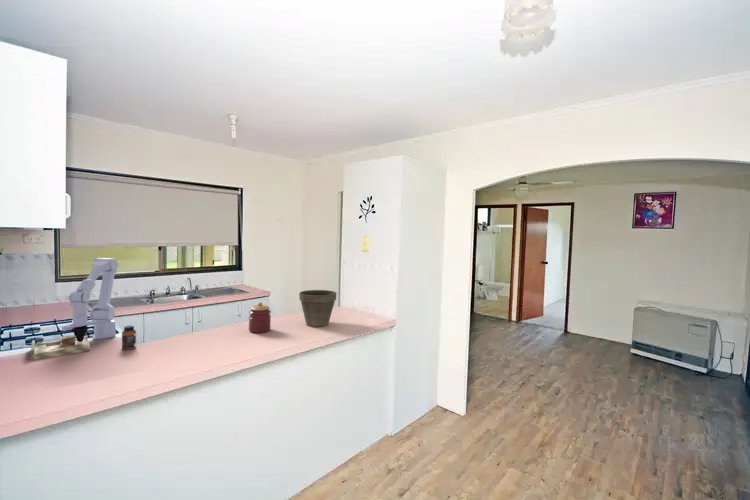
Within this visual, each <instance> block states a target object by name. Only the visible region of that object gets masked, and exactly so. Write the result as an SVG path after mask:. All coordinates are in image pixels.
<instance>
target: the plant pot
mask: <svg viewBox="0 0 750 500" xmlns="http://www.w3.org/2000/svg"><path fill="white" fill-rule="evenodd" d="M298 294H299V301H300V303H301V308H302V312H303V316H304V317H303V318H304V320H305V325H307V326H309V327H312V328H313V327H315V328H318V327H326V326H328V325H329V323H330V320H331V319H330V318H331V316H332V312H333V309H334V306H335V305H334V304H335V302H336V300H337V292H336V291H334V290H327V289H326V290H325V289H311V290H310V289H309V290H303V291H300V292H299V293H298Z"/></svg>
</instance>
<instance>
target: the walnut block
mask: <svg viewBox="0 0 750 500" xmlns="http://www.w3.org/2000/svg"><path fill="white" fill-rule="evenodd" d="M75 338H76V335H75V334H72V335H65V336H64V335H63V336H61V338H60V339H61V340H60V341H61V347H66V346H73V345H75Z"/></svg>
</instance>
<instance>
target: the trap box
mask: <svg viewBox="0 0 750 500" xmlns="http://www.w3.org/2000/svg"><path fill="white" fill-rule="evenodd" d="M30 347H31V348H30V356H31V357H30V361H33V360H34V361H35V360H40V359H45V358H46V359H47V358H53V357H58V356H59V357H60V356H65V355H70V354H71V355H72V354H77V353H78V354H79V353H84V352H90V351H91V345H90V342H89V339H88V336H86V337H85V336H84V338H83V341H82V342H78V341H77V338H76V337H75V345H73V346H66V347H61V340H54V341H48V342H39V343H36V340H35V339H32V341H31V346H30Z"/></svg>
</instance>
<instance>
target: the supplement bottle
mask: <svg viewBox="0 0 750 500" xmlns="http://www.w3.org/2000/svg"><path fill="white" fill-rule="evenodd" d="M123 328H124V329H123V330H122V332H121V347H122V348H121V349H122V350H124V351H129V350H134V349H135V347H136V348H137V330H136V329H135V326H134V325H127V326H124V327H123ZM135 345H136V346H135Z"/></svg>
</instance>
